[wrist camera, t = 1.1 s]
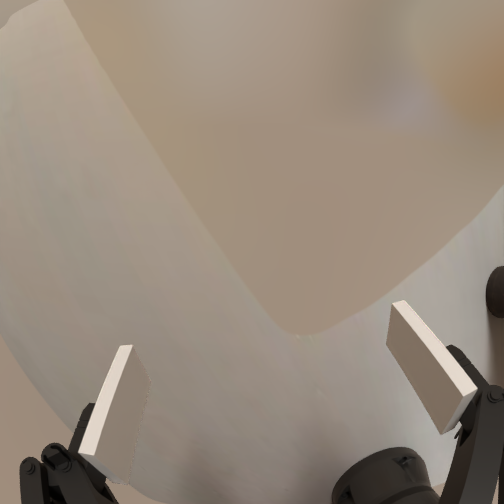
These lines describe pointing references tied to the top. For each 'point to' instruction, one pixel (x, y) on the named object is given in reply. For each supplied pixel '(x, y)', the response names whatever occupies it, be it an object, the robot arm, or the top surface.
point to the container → (496, 292)
